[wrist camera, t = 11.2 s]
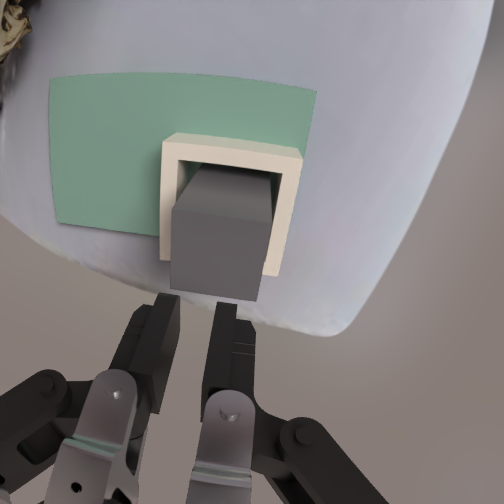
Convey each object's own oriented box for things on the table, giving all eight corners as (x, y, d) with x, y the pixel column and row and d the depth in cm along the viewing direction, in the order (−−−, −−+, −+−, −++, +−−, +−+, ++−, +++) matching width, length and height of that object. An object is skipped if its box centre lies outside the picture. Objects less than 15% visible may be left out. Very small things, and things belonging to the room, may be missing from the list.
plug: (203, 161, 20) (171, 209, 13) (269, 170, 20) (272, 223, 14) (197, 227, 23) (170, 296, 16) (257, 235, 23) (254, 309, 16)
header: (176, 132, 19) (162, 141, 17) (298, 148, 20) (303, 159, 17) (170, 238, 23) (160, 259, 21) (276, 253, 24) (277, 276, 21)
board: (57, 77, 18) (50, 78, 17) (314, 90, 18) (316, 91, 18) (62, 217, 24) (56, 222, 23) (282, 247, 25) (283, 254, 24)
